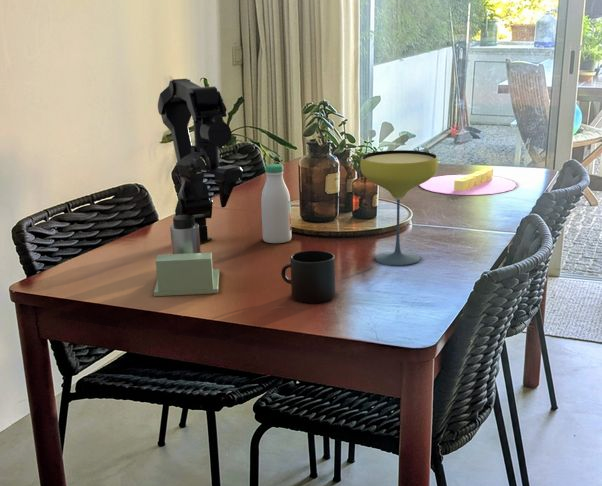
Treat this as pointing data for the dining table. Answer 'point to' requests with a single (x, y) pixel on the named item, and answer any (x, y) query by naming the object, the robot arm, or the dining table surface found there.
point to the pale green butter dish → (186, 274)
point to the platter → (469, 184)
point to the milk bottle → (275, 207)
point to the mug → (311, 276)
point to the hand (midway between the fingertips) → (210, 204)
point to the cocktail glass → (398, 185)
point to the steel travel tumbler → (185, 235)
